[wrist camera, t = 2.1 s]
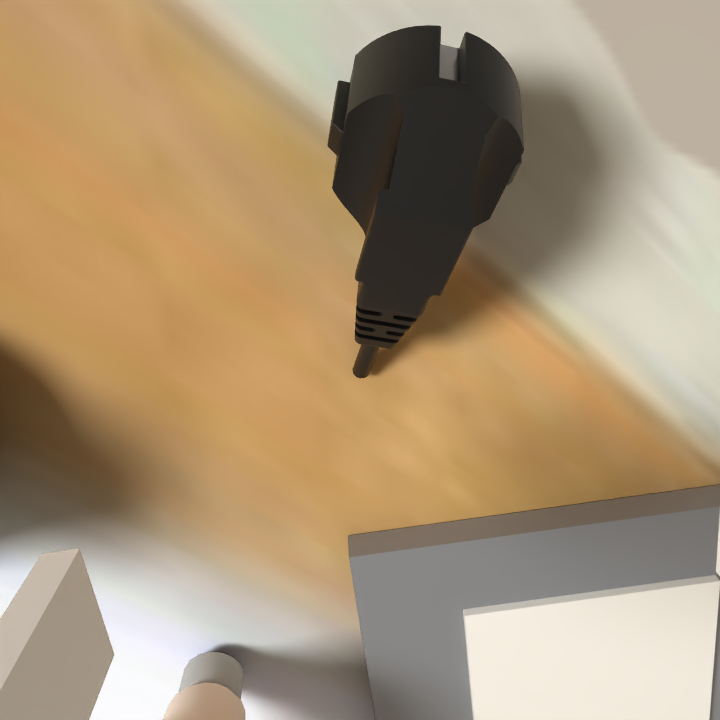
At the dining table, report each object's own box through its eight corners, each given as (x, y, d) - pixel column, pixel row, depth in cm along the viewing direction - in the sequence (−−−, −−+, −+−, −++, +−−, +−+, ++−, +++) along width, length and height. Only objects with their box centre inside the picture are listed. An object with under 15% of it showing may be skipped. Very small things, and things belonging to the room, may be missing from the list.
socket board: (347, 535, 30) (349, 569, 27) (804, 472, 30) (841, 502, 27) (397, 843, 37) (402, 889, 35) (764, 792, 37) (791, 835, 35)
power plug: (286, 377, 26) (333, 126, 16) (310, 228, 30) (360, -50, 20) (430, 400, 26) (565, 173, 16) (435, 251, 30) (545, -6, 20)
